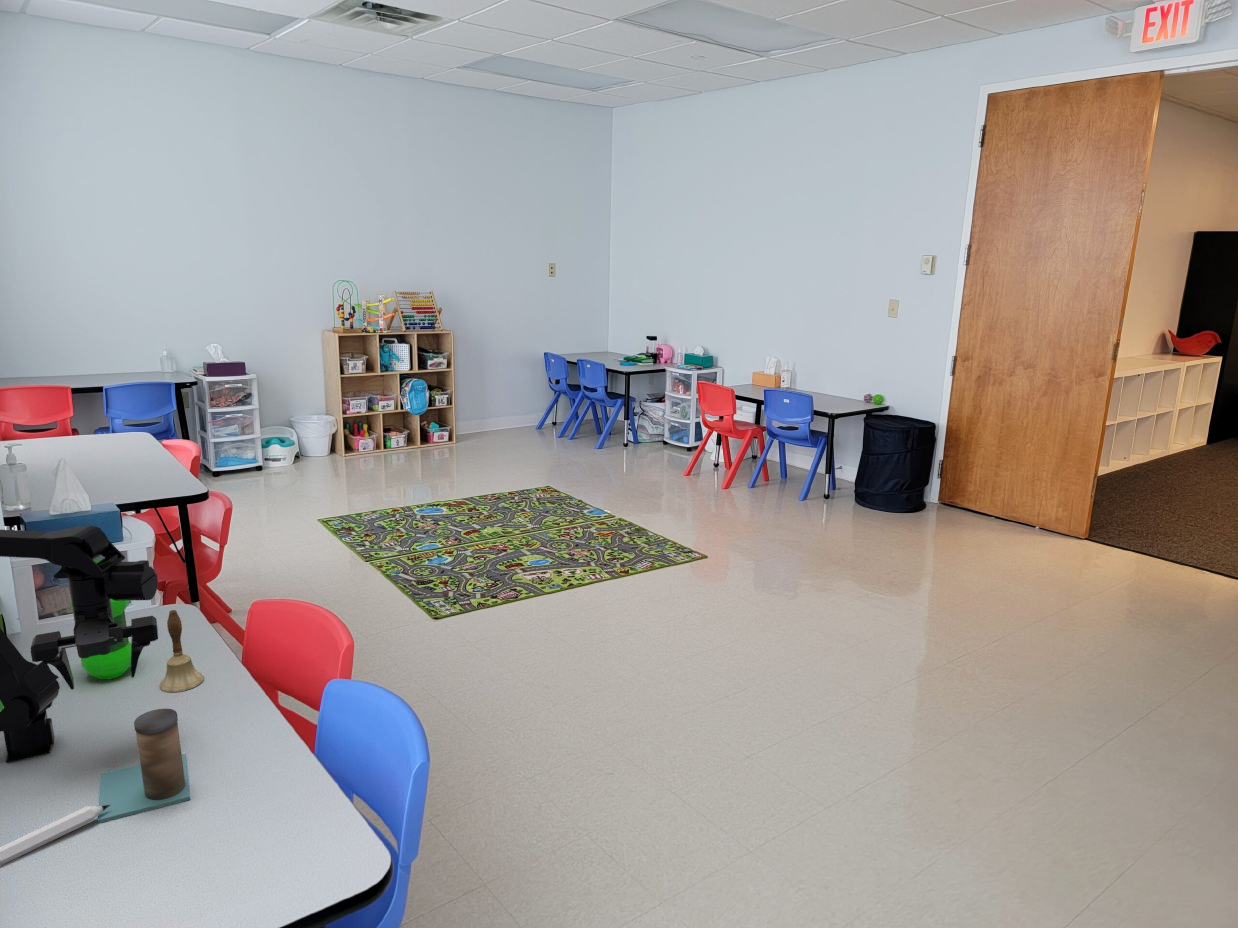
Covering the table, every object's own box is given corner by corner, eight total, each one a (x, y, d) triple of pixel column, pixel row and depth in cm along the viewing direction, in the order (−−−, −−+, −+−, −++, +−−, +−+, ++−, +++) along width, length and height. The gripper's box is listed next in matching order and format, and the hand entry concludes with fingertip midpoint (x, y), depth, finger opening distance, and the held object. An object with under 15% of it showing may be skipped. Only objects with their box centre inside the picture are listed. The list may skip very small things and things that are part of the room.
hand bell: (150, 687, 177) (140, 615, 173) (183, 670, 184) (175, 600, 181) (180, 695, 174) (171, 622, 170) (213, 677, 181) (205, 607, 178)
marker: (113, 813, 138) (-5, 869, 126) (108, 803, 139) (-10, 857, 127) (114, 804, 136) (-5, 860, 125) (108, 794, 137) (-11, 848, 125)
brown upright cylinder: (137, 800, 140) (126, 729, 137) (154, 778, 146) (145, 708, 143) (176, 799, 140) (166, 728, 137) (192, 777, 146) (183, 707, 143)
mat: (98, 823, 135) (97, 819, 135) (101, 776, 147) (100, 773, 147) (190, 799, 141) (189, 796, 141) (186, 756, 153) (185, 753, 153)
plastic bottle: (71, 680, 180) (53, 566, 174) (116, 658, 189) (101, 550, 183) (104, 689, 176) (87, 574, 170) (149, 667, 185) (135, 557, 179)
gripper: (20, 628, 138) (35, 716, 141) (153, 606, 146) (163, 690, 150) (28, 603, 147) (42, 686, 151) (152, 584, 156) (162, 663, 159)
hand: (103, 682), depth 152 cm, fingers open, 9 cm apart
